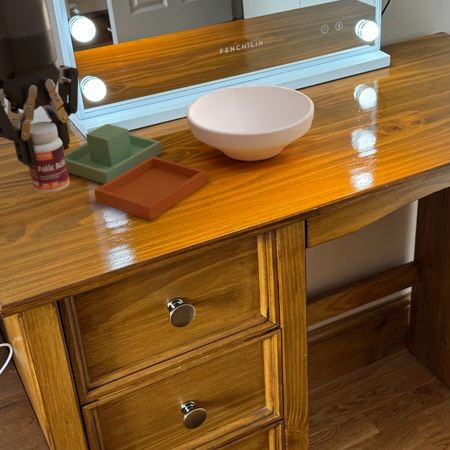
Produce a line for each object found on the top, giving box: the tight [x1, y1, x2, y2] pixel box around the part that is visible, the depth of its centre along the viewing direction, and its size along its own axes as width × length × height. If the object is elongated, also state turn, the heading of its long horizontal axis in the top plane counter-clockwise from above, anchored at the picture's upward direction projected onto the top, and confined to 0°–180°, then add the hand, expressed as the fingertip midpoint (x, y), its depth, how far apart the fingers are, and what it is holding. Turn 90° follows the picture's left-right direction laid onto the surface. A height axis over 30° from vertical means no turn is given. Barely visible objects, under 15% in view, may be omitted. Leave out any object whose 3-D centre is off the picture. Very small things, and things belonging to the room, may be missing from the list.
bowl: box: [185, 84, 315, 162], centre depth 119 cm, size 20×20×7 cm
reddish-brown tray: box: [94, 156, 208, 221], centre depth 109 cm, size 12×10×2 cm
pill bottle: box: [28, 121, 71, 194], centre depth 100 cm, size 5×5×8 cm
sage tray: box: [64, 132, 164, 185], centre depth 118 cm, size 12×10×2 cm
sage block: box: [85, 123, 132, 167], centre depth 118 cm, size 4×4×4 cm
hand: (45, 155), depth 100 cm, fingers closed on pill bottle, 4 cm apart
